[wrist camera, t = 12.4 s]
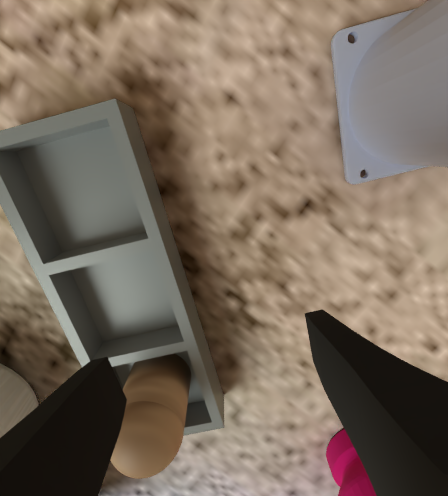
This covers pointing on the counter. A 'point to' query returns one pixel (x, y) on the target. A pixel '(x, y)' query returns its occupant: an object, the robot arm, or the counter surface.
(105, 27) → the counter surface
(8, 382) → the ramekin
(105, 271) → the tray
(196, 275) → the counter surface
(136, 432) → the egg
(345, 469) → the pepper mill
